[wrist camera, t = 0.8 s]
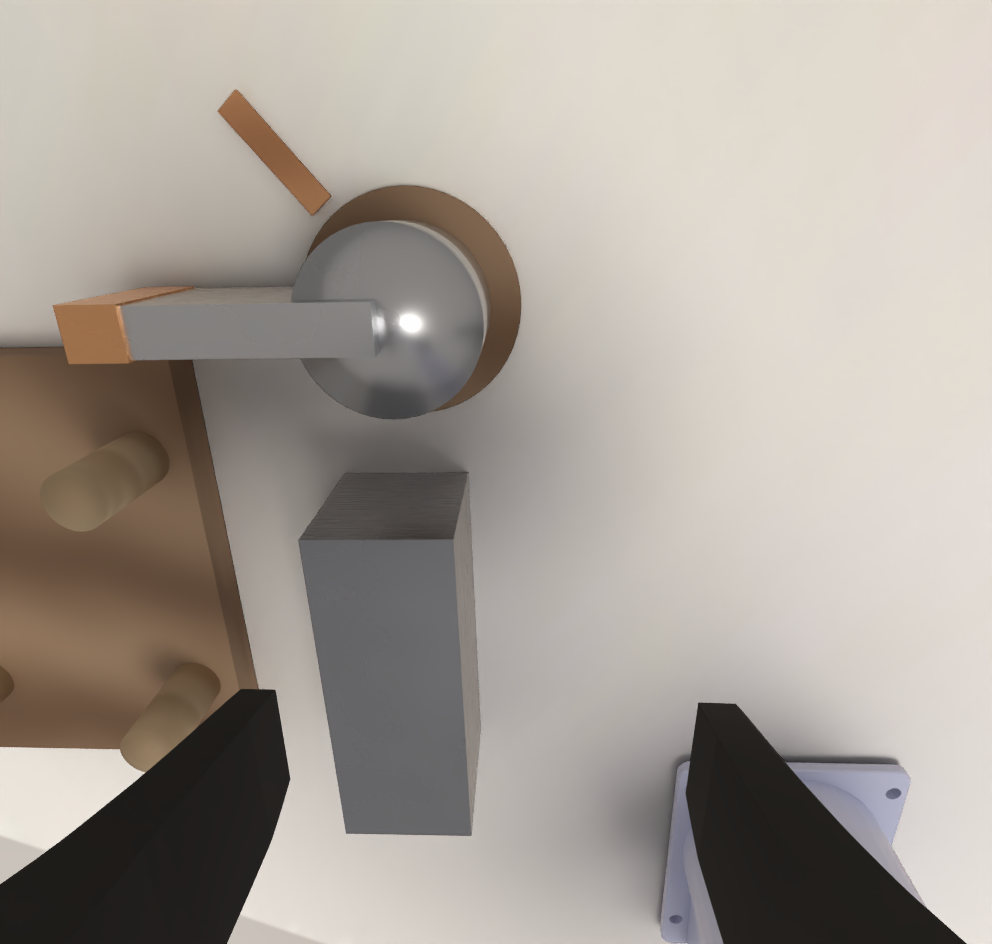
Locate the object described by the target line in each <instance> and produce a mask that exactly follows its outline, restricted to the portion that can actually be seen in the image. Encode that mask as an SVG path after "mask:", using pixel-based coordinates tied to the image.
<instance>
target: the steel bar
mask: <svg viewBox="0 0 992 944" xmlns="http://www.w3.org/2000/svg"><path fill="white" fill-rule="evenodd" d="M298 541H299V547H300V553H301V559H302V565H303V571H304V578H305V584H306V590H307V596H308V602H309V608H310V614H311V620H312V627H313V633H314V639H315V645H316V651H317V657H318V663H319V670H320V676H321V682H322V688H323V694H324V700H325V706H326V713H327V719H328V725H329V731H330V737H331V743H332V749H333V755H334V762H335V768H336V774H337V780H338V786H339V792H340V798H341V805H342V811H343V817H344V823H345V829H346V833H347V834H401V835H454V836H471V835H472V823H473V812H474V801H475V789H476V778H477V767H478V755H479V744H480V733H481V721H480V700H479V680H478V659H477V639H476V619H475V598H474V578H473V558H472V537H471V517H470V496H469V476H468V472H446V473H345V474H344V475H343V477H342V478H341V480H340V481H339V483H338V484H337V485H336V487H335V488H334V490H333V491H332V493H331V494H330V496H329V497H328V498H327V500H326V501H325V503H324V504H323V506H322V507H321V509H320V510H319V511H318V513H317V514H316V516H315V517H314V519H313V520H312V521H311V523H310V524H309V526H308V527H307V529H306V530H305V532H304V533H303V534H302V536H301V537H300V539H299V540H298Z"/></svg>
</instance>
